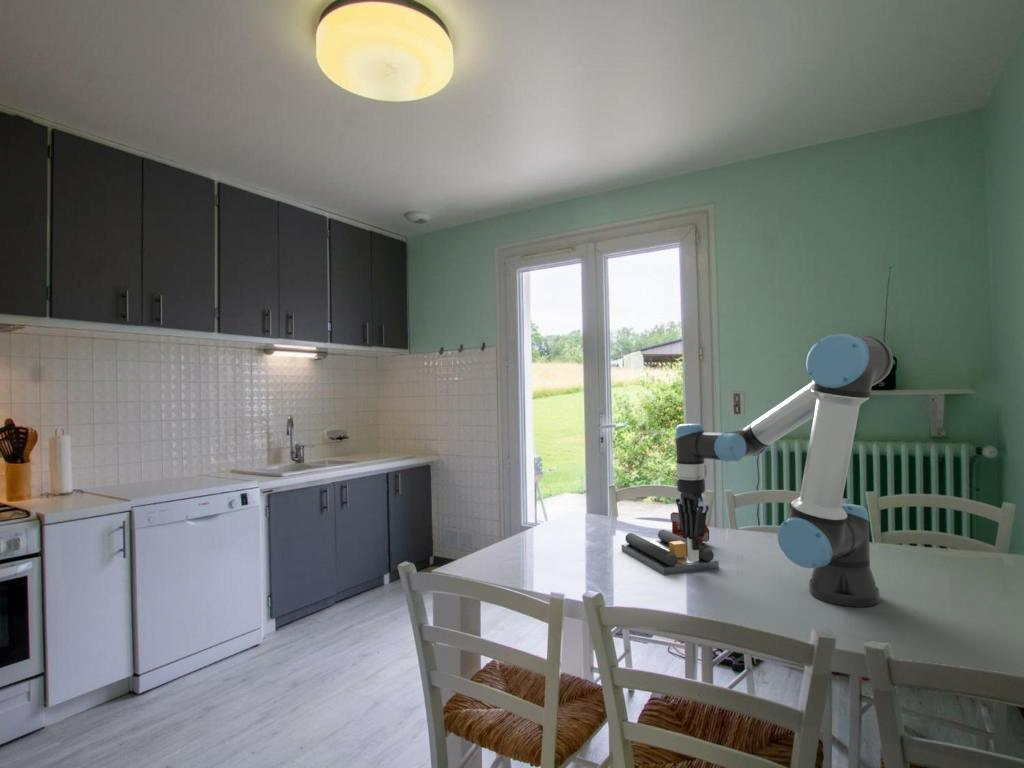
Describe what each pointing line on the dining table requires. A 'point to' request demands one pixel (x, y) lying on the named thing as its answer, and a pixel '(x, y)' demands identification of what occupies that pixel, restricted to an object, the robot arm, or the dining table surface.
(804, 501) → the robot arm
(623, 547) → the panel
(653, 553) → the dark grey cylinder rod
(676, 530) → the toy fire truck
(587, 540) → the dining table surface
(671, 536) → the dark grey cylindrical rod
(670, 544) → the tan cardboard-colored block
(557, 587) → the dining table surface
